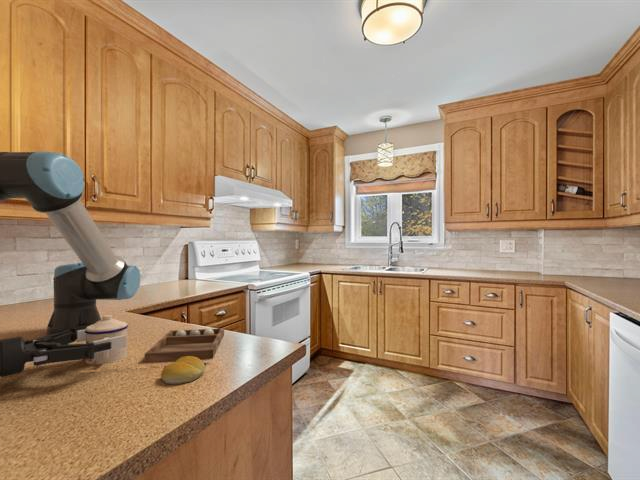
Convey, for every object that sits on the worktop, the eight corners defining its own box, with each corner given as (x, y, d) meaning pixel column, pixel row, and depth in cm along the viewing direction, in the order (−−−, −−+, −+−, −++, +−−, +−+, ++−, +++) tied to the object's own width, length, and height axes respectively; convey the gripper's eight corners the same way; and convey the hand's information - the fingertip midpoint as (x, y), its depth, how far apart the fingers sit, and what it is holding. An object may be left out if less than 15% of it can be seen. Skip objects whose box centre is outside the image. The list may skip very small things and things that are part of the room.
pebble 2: (190, 338, 97) (190, 328, 97) (201, 337, 98) (201, 327, 98) (188, 341, 94) (188, 330, 94) (199, 340, 95) (199, 330, 95)
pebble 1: (176, 338, 96) (176, 328, 96) (187, 338, 97) (187, 328, 97) (174, 341, 93) (174, 331, 93) (184, 341, 94) (184, 331, 94)
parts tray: (170, 340, 98) (170, 330, 98) (224, 337, 101) (224, 328, 101) (144, 366, 77) (144, 353, 77) (213, 361, 80) (213, 349, 80)
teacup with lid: (86, 359, 82) (86, 314, 82) (127, 353, 87) (128, 310, 87) (80, 376, 72) (80, 324, 72) (127, 368, 76) (128, 319, 77)
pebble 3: (204, 337, 98) (204, 327, 98) (214, 336, 98) (214, 327, 98) (202, 340, 95) (202, 330, 95) (213, 339, 95) (213, 329, 95)
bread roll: (153, 384, 68) (153, 365, 68) (181, 368, 77) (181, 351, 77) (186, 388, 66) (186, 368, 66) (211, 371, 75) (211, 354, 75)
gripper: (-9, 362, 73) (100, 340, 89) (3, 396, 56) (134, 362, 72) (-9, 329, 73) (100, 313, 89) (3, 354, 56) (134, 329, 73)
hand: (116, 335), depth 81 cm, fingers open, 13 cm apart
